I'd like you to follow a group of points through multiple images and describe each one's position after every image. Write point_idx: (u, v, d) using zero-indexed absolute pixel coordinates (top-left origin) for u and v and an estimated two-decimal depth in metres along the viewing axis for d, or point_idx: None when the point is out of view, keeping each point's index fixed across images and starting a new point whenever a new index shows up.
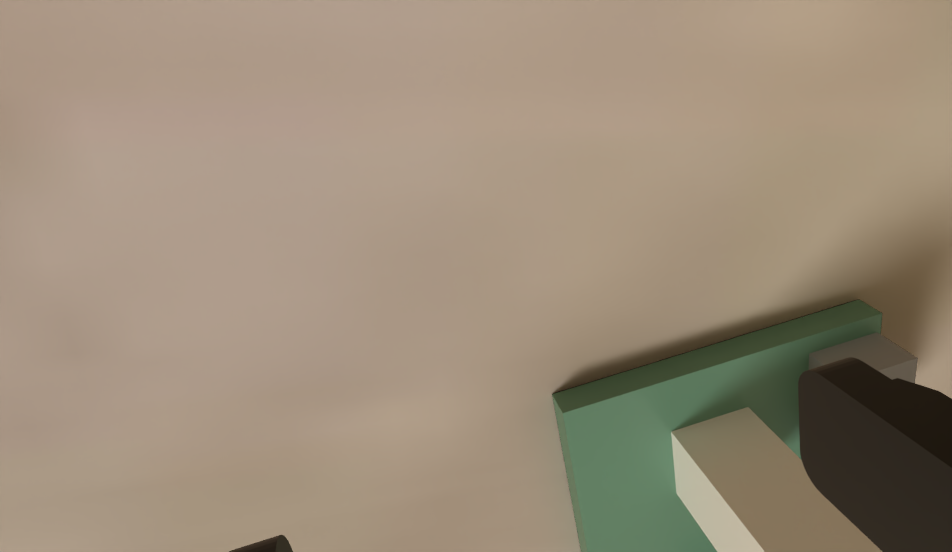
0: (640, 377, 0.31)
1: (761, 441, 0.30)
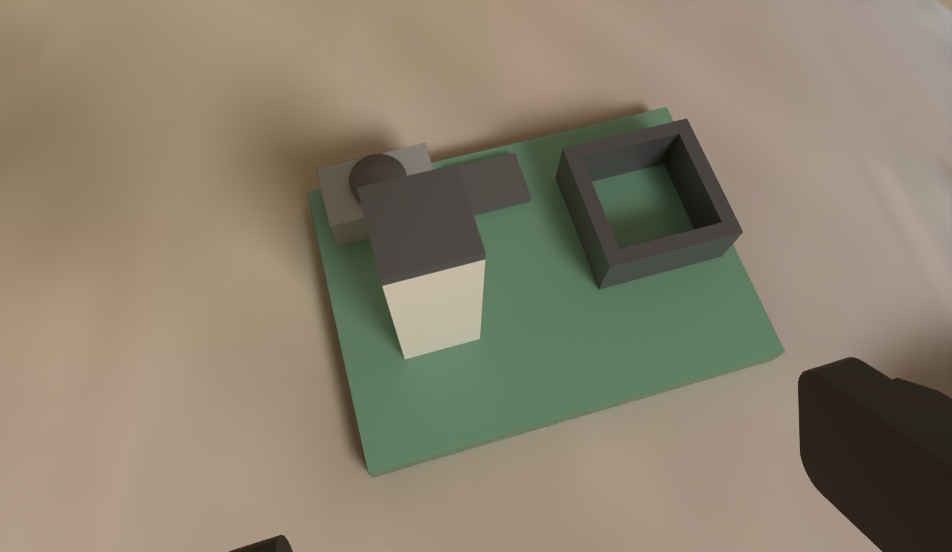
0: None
1: None
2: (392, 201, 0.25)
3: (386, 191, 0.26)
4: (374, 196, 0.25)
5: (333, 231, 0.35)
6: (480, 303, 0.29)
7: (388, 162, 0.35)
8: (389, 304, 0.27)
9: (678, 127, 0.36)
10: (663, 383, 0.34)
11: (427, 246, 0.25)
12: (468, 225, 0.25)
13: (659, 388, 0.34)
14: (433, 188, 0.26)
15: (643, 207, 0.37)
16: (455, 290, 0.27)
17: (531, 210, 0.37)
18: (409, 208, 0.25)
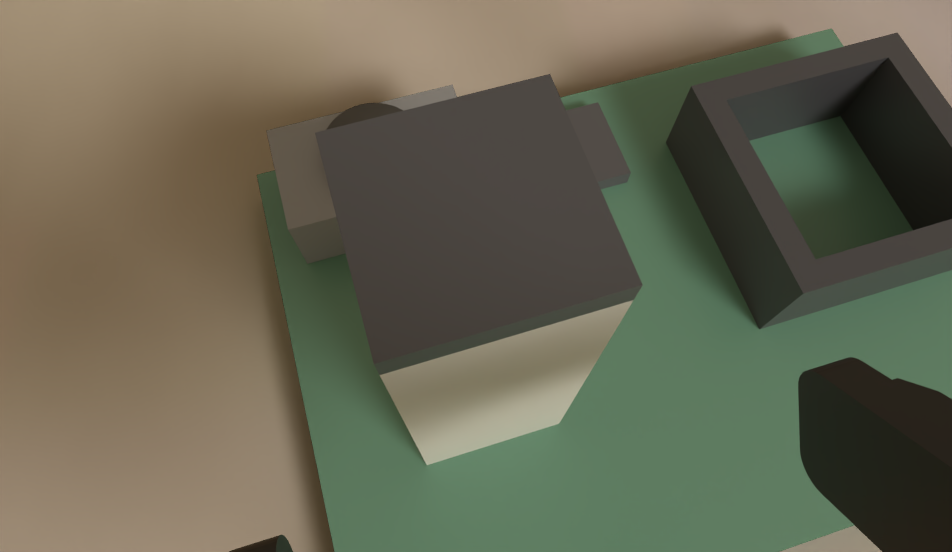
0: None
1: None
2: (400, 162, 0.10)
3: (386, 138, 0.11)
4: (357, 152, 0.10)
5: (296, 238, 0.20)
6: (582, 378, 0.14)
7: None
8: (398, 404, 0.12)
9: (885, 47, 0.21)
10: None
11: (493, 271, 0.10)
12: (592, 215, 0.10)
13: None
14: (498, 130, 0.11)
15: (817, 187, 0.22)
16: (545, 363, 0.12)
17: (630, 196, 0.22)
18: (442, 178, 0.10)
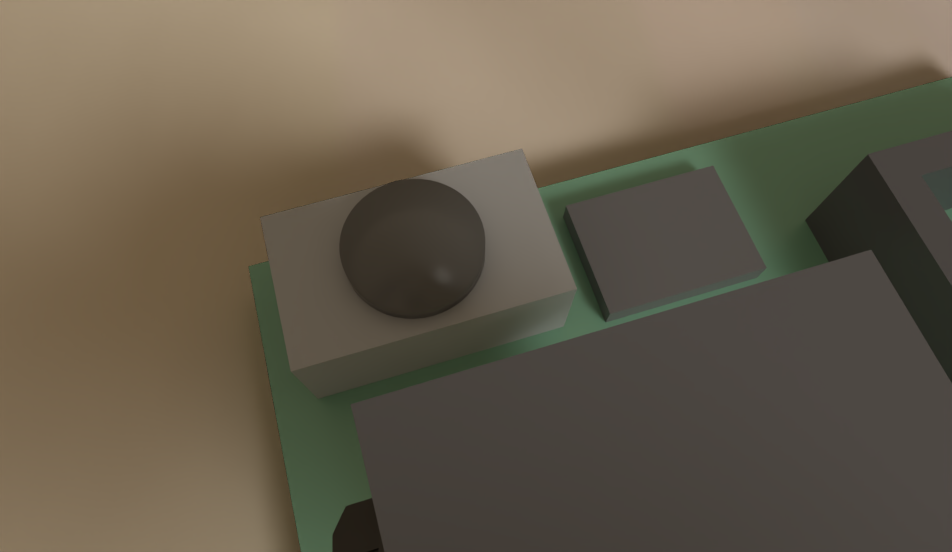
0: None
1: None
2: (559, 492, 0.04)
3: (520, 422, 0.04)
4: (453, 460, 0.04)
5: (302, 378, 0.14)
6: None
7: (437, 199, 0.14)
8: None
9: None
10: None
11: None
12: None
13: None
14: (781, 399, 0.05)
15: None
16: None
17: None
18: (667, 539, 0.04)
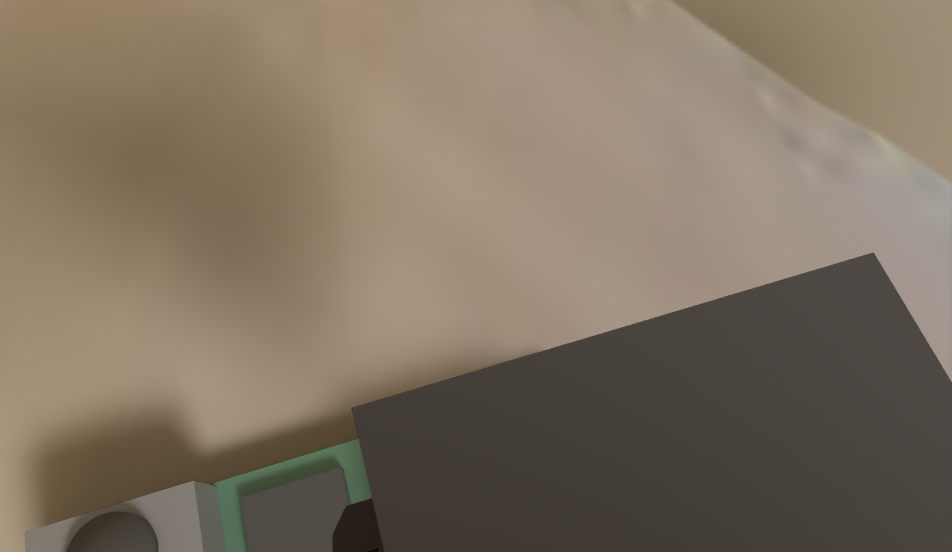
0: None
1: None
2: (561, 497, 0.04)
3: (520, 427, 0.04)
4: (456, 465, 0.04)
5: None
6: None
7: (128, 526, 0.23)
8: None
9: None
10: None
11: None
12: None
13: None
14: (783, 403, 0.05)
15: None
16: None
17: None
18: (669, 544, 0.04)
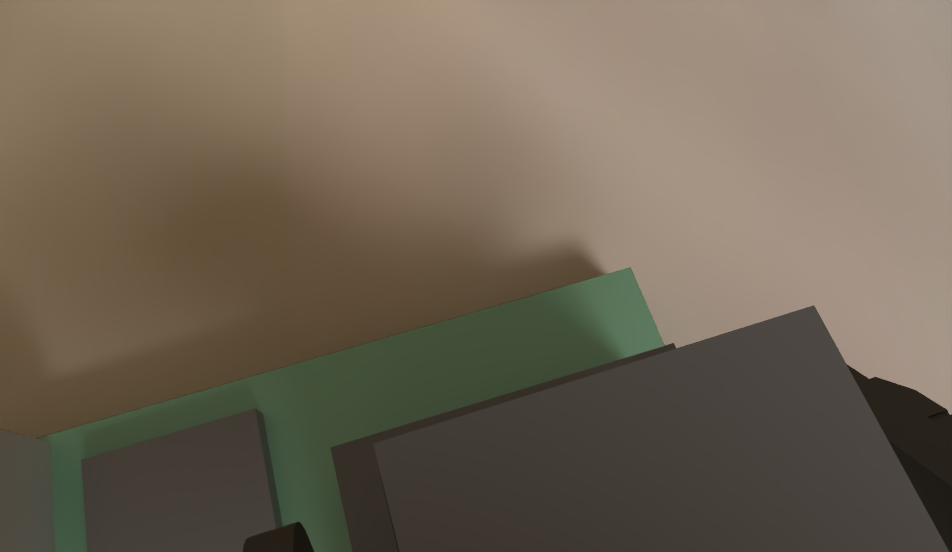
0: None
1: None
2: (549, 517, 0.05)
3: (515, 458, 0.05)
4: (459, 490, 0.05)
5: None
6: None
7: None
8: None
9: None
10: None
11: None
12: None
13: None
14: (734, 436, 0.05)
15: None
16: None
17: None
18: None
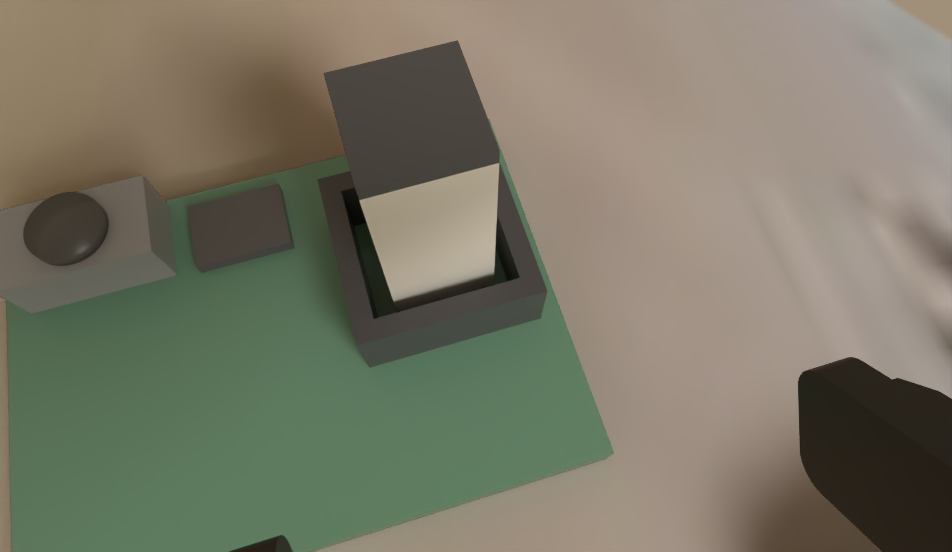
0: None
1: None
2: (371, 89, 0.19)
3: (363, 76, 0.19)
4: (347, 83, 0.19)
5: (5, 297, 0.26)
6: (492, 238, 0.23)
7: (81, 203, 0.26)
8: (372, 233, 0.20)
9: None
10: (441, 501, 0.24)
11: (420, 144, 0.18)
12: (476, 116, 0.18)
13: (436, 508, 0.24)
14: (426, 71, 0.19)
15: None
16: (460, 214, 0.20)
17: (294, 259, 0.28)
18: (394, 97, 0.19)
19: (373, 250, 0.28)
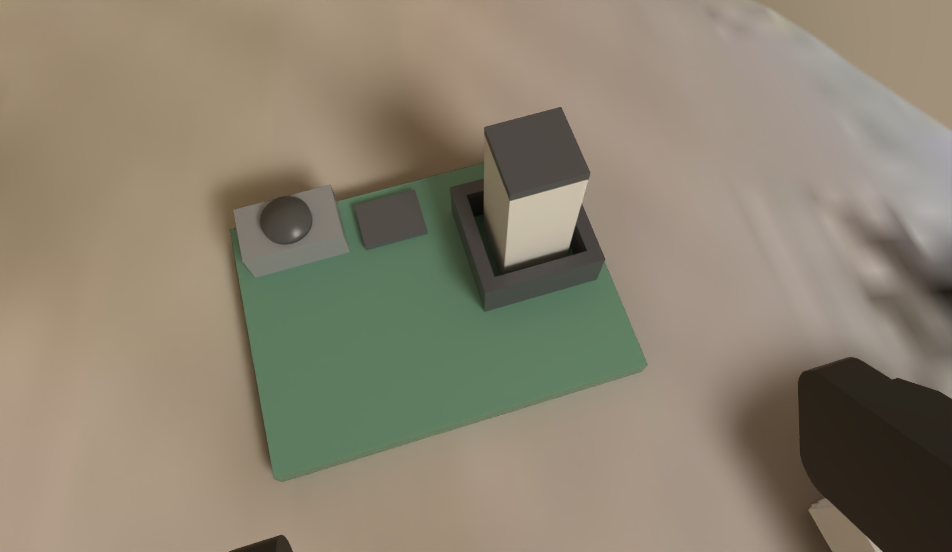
0: None
1: (487, 220, 0.40)
2: (513, 136, 0.32)
3: (508, 128, 0.32)
4: (499, 133, 0.32)
5: (247, 265, 0.39)
6: (573, 224, 0.36)
7: (295, 203, 0.40)
8: (509, 221, 0.33)
9: None
10: (537, 394, 0.38)
11: (544, 169, 0.32)
12: (575, 152, 0.32)
13: (534, 399, 0.38)
14: (544, 126, 0.32)
15: None
16: (559, 209, 0.34)
17: (428, 241, 0.42)
18: (527, 141, 0.32)
19: (481, 235, 0.42)
